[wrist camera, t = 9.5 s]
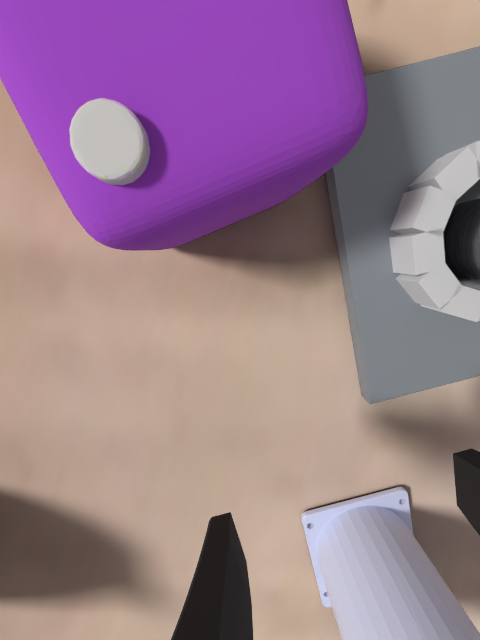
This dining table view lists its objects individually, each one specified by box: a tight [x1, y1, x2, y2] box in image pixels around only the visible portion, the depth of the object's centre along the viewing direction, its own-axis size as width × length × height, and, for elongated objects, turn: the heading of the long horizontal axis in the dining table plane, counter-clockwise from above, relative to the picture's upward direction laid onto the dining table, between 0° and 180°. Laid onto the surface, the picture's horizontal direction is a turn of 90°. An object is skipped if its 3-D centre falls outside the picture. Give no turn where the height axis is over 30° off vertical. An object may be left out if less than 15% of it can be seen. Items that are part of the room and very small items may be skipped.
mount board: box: [325, 46, 480, 404], centre depth 16 cm, size 18×14×4 cm
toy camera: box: [0, 0, 368, 250], centre depth 11 cm, size 11×14×10 cm
